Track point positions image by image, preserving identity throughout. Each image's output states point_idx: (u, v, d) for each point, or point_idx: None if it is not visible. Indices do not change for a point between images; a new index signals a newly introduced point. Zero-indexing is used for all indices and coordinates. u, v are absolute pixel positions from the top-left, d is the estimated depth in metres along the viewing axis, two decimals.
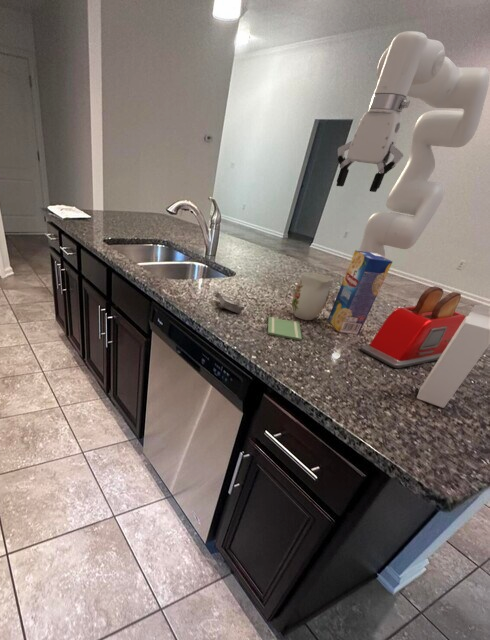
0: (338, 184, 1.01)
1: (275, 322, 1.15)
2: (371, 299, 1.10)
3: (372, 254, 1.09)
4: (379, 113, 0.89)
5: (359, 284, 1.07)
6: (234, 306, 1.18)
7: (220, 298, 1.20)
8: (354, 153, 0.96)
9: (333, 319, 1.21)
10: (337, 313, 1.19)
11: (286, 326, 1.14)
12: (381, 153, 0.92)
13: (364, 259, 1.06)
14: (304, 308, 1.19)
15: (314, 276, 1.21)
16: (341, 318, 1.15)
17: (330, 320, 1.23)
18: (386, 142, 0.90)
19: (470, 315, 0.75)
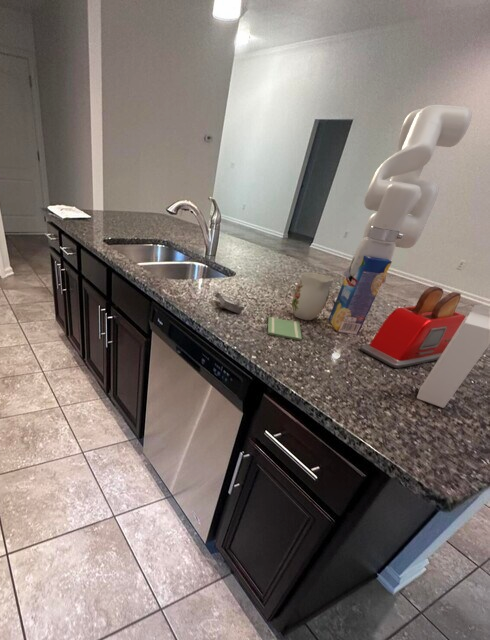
0: None
1: (275, 322, 1.15)
2: (370, 299, 1.10)
3: None
4: (382, 243, 1.03)
5: (357, 284, 1.08)
6: (234, 306, 1.18)
7: (220, 298, 1.20)
8: None
9: (333, 318, 1.21)
10: (336, 313, 1.19)
11: (286, 326, 1.14)
12: None
13: (363, 259, 1.06)
14: (304, 308, 1.19)
15: (314, 276, 1.21)
16: (340, 318, 1.15)
17: (330, 320, 1.23)
18: None
19: (470, 315, 0.75)
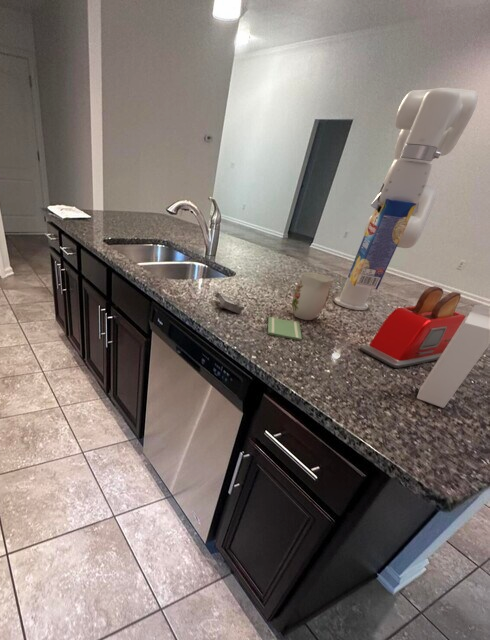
0: None
1: (275, 322, 1.15)
2: (391, 248, 1.01)
3: None
4: (417, 163, 0.92)
5: (377, 230, 0.99)
6: (234, 306, 1.18)
7: (220, 298, 1.20)
8: (388, 198, 0.97)
9: (352, 274, 1.13)
10: (355, 267, 1.11)
11: (286, 326, 1.14)
12: (417, 200, 0.96)
13: (385, 202, 0.97)
14: (304, 308, 1.19)
15: (314, 276, 1.21)
16: (358, 271, 1.07)
17: (349, 276, 1.15)
18: (422, 190, 0.95)
19: (470, 315, 0.75)
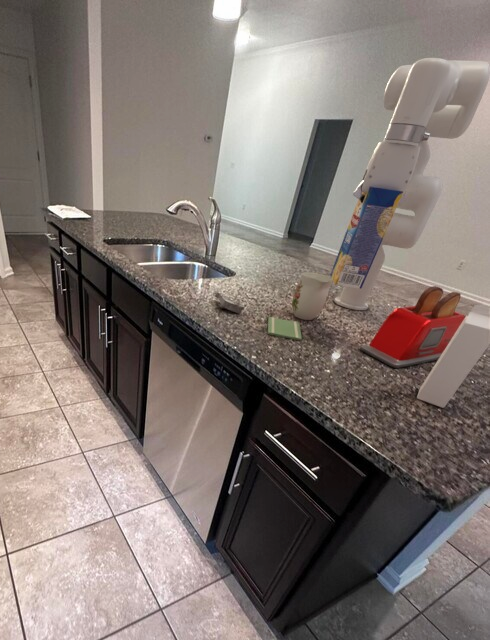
0: None
1: (275, 322, 1.15)
2: (376, 242, 0.90)
3: None
4: (403, 145, 0.81)
5: (360, 222, 0.89)
6: (234, 306, 1.18)
7: (220, 298, 1.20)
8: (372, 186, 0.87)
9: (334, 272, 1.02)
10: (337, 264, 1.00)
11: (286, 326, 1.14)
12: (403, 188, 0.85)
13: (368, 191, 0.87)
14: (304, 308, 1.19)
15: (314, 276, 1.21)
16: (340, 268, 0.96)
17: (331, 275, 1.04)
18: (409, 176, 0.84)
19: (470, 315, 0.75)
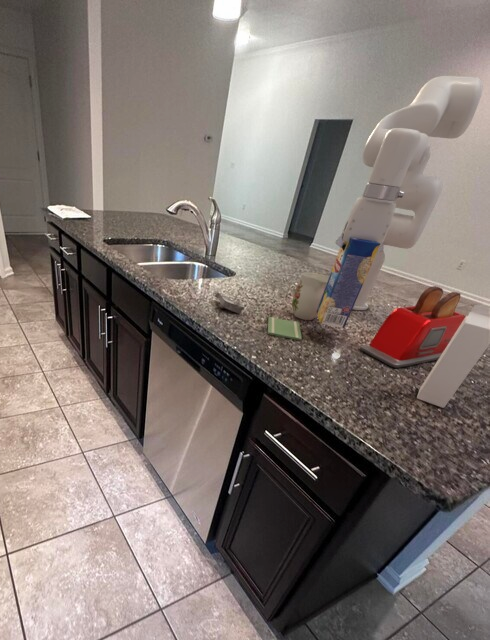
0: None
1: (275, 322, 1.15)
2: (357, 287, 0.97)
3: None
4: (379, 202, 0.88)
5: (341, 269, 0.95)
6: (234, 306, 1.18)
7: (220, 298, 1.20)
8: (352, 237, 0.93)
9: (319, 310, 1.09)
10: (322, 304, 1.07)
11: (286, 326, 1.14)
12: (381, 239, 0.92)
13: (349, 241, 0.93)
14: (304, 308, 1.19)
15: (314, 276, 1.21)
16: (324, 308, 1.03)
17: (317, 312, 1.11)
18: (386, 229, 0.91)
19: (470, 315, 0.75)
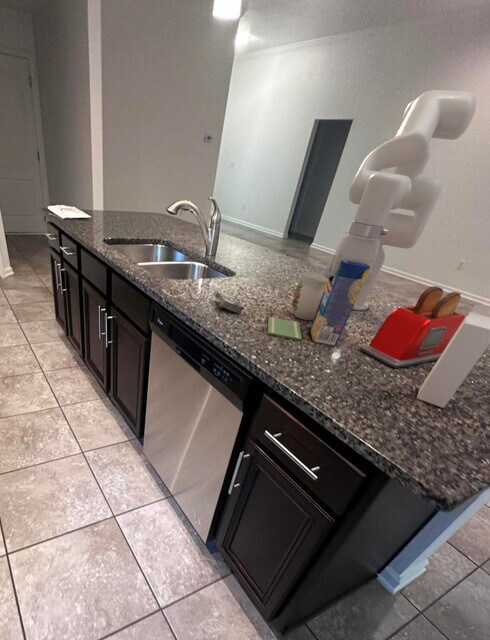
0: None
1: (275, 322, 1.15)
2: (348, 308, 1.00)
3: None
4: (364, 240, 0.93)
5: (333, 290, 0.99)
6: (234, 306, 1.18)
7: (220, 298, 1.20)
8: None
9: (313, 327, 1.12)
10: (315, 321, 1.10)
11: (286, 326, 1.14)
12: None
13: (340, 264, 0.97)
14: (304, 308, 1.19)
15: (314, 276, 1.21)
16: (317, 327, 1.07)
17: (311, 329, 1.14)
18: (371, 264, 0.96)
19: (470, 315, 0.75)
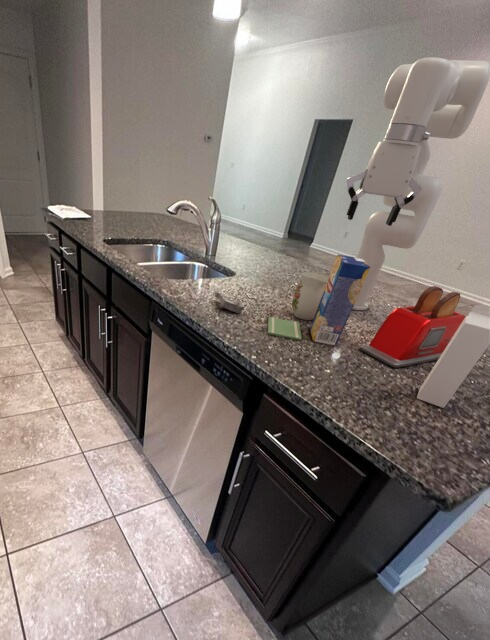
0: (351, 218, 0.92)
1: (275, 322, 1.15)
2: (348, 308, 1.00)
3: (354, 259, 1.00)
4: (403, 145, 0.81)
5: (333, 290, 0.99)
6: (234, 306, 1.18)
7: (220, 298, 1.20)
8: (372, 186, 0.87)
9: (313, 327, 1.12)
10: (315, 321, 1.10)
11: (286, 326, 1.14)
12: (404, 187, 0.86)
13: (340, 264, 0.97)
14: (304, 308, 1.19)
15: (314, 276, 1.21)
16: (317, 327, 1.07)
17: (311, 329, 1.14)
18: (409, 176, 0.84)
19: (470, 315, 0.75)
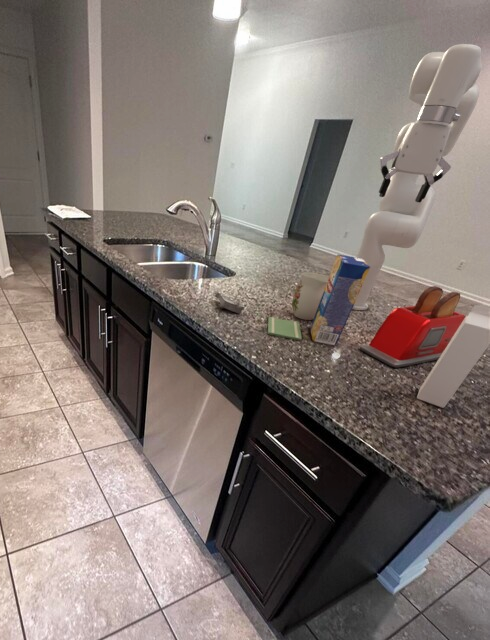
0: (383, 195, 0.99)
1: (275, 322, 1.15)
2: (348, 308, 1.00)
3: (354, 259, 1.00)
4: (435, 125, 0.88)
5: (333, 290, 0.99)
6: (234, 306, 1.18)
7: (220, 298, 1.20)
8: (405, 164, 0.94)
9: (313, 327, 1.12)
10: (315, 321, 1.10)
11: (286, 326, 1.14)
12: (434, 165, 0.93)
13: (340, 264, 0.97)
14: (304, 308, 1.19)
15: (314, 276, 1.21)
16: (317, 327, 1.07)
17: (311, 329, 1.14)
18: (440, 155, 0.91)
19: (470, 315, 0.75)
